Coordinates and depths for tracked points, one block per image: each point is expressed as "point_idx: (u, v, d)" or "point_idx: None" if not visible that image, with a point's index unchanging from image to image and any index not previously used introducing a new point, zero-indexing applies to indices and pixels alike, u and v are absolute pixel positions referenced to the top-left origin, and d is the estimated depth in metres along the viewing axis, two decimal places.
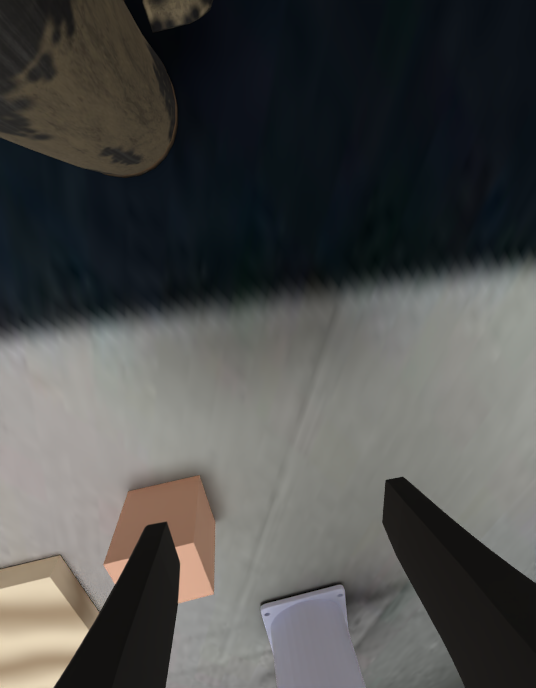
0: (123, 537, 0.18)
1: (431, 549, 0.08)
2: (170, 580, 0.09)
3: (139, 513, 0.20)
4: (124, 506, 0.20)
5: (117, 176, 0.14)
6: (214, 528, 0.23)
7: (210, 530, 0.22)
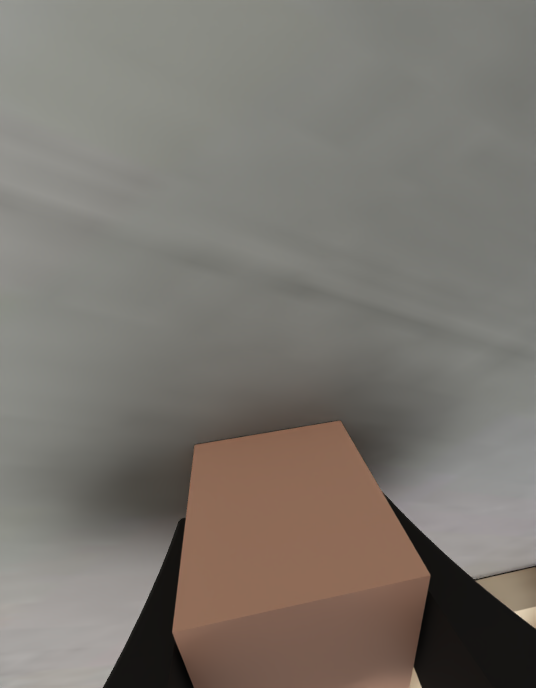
0: None
1: None
2: None
3: None
4: None
5: None
6: (342, 434, 0.10)
7: (315, 464, 0.09)
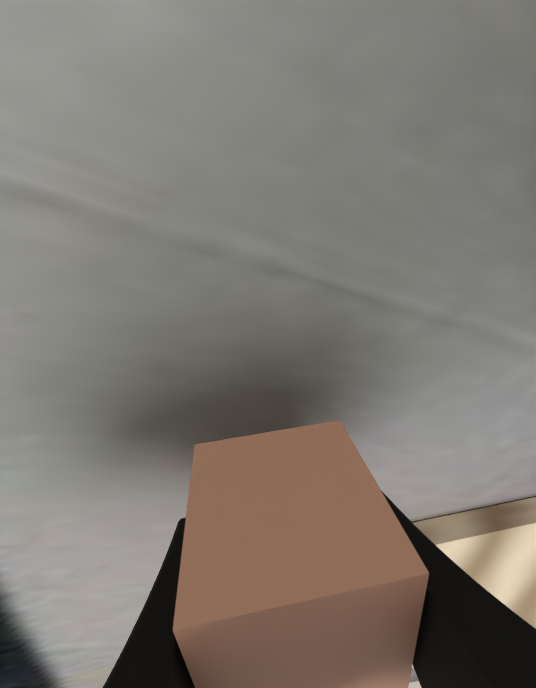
0: None
1: None
2: None
3: None
4: None
5: None
6: (342, 434, 0.10)
7: (314, 463, 0.09)
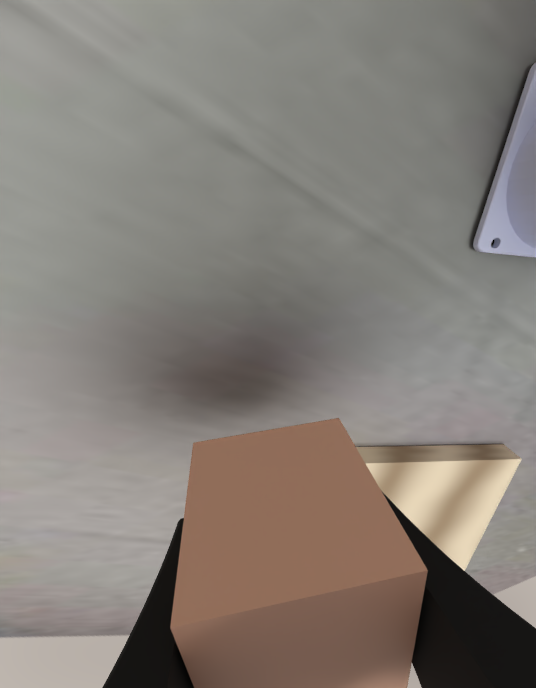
0: None
1: None
2: None
3: None
4: None
5: None
6: (340, 432, 0.10)
7: (313, 461, 0.09)
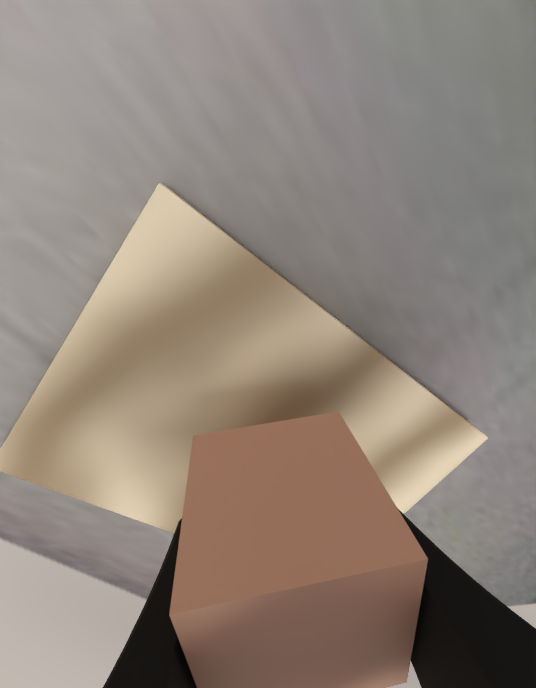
0: None
1: None
2: None
3: None
4: None
5: None
6: (341, 425, 0.10)
7: (313, 453, 0.09)
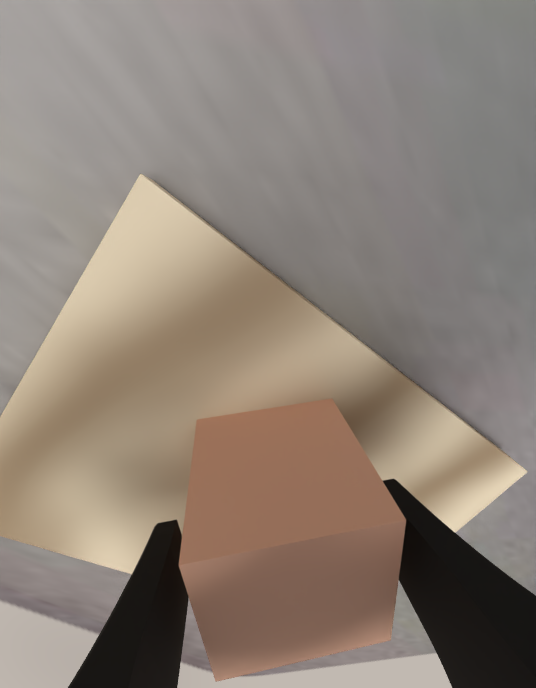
0: None
1: (420, 551, 0.08)
2: (181, 578, 0.09)
3: None
4: None
5: None
6: (333, 410, 0.11)
7: (307, 434, 0.10)
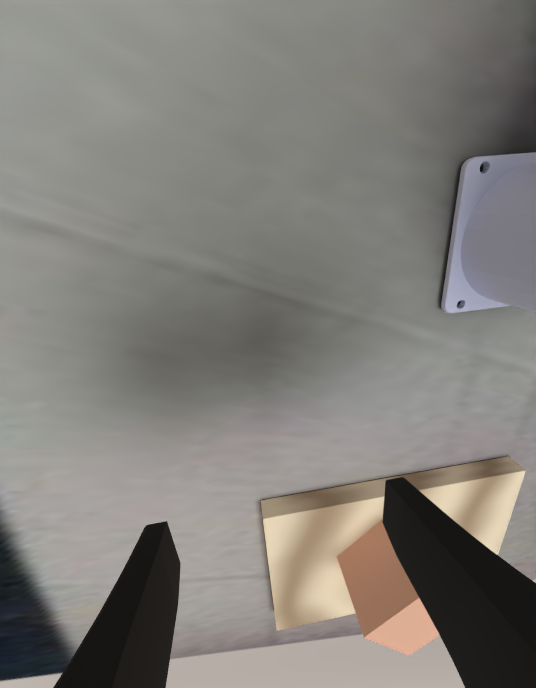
0: None
1: (431, 549, 0.08)
2: (170, 580, 0.09)
3: None
4: None
5: None
6: None
7: (381, 551, 0.21)
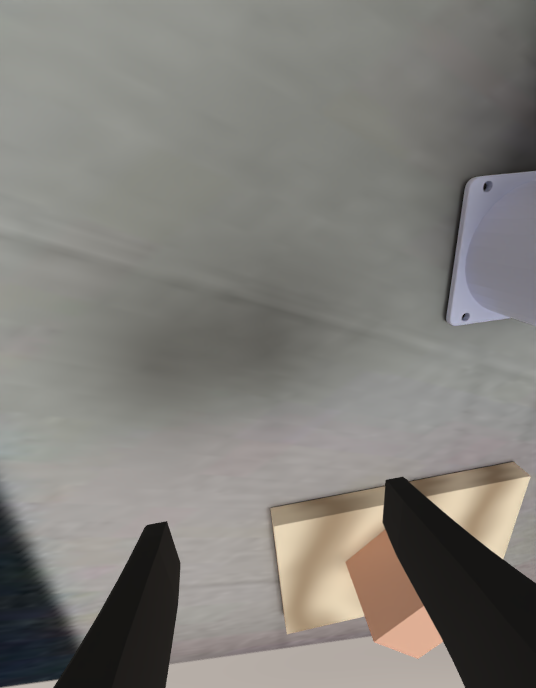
0: None
1: (431, 549, 0.08)
2: (170, 580, 0.09)
3: None
4: None
5: None
6: None
7: (389, 557, 0.22)
